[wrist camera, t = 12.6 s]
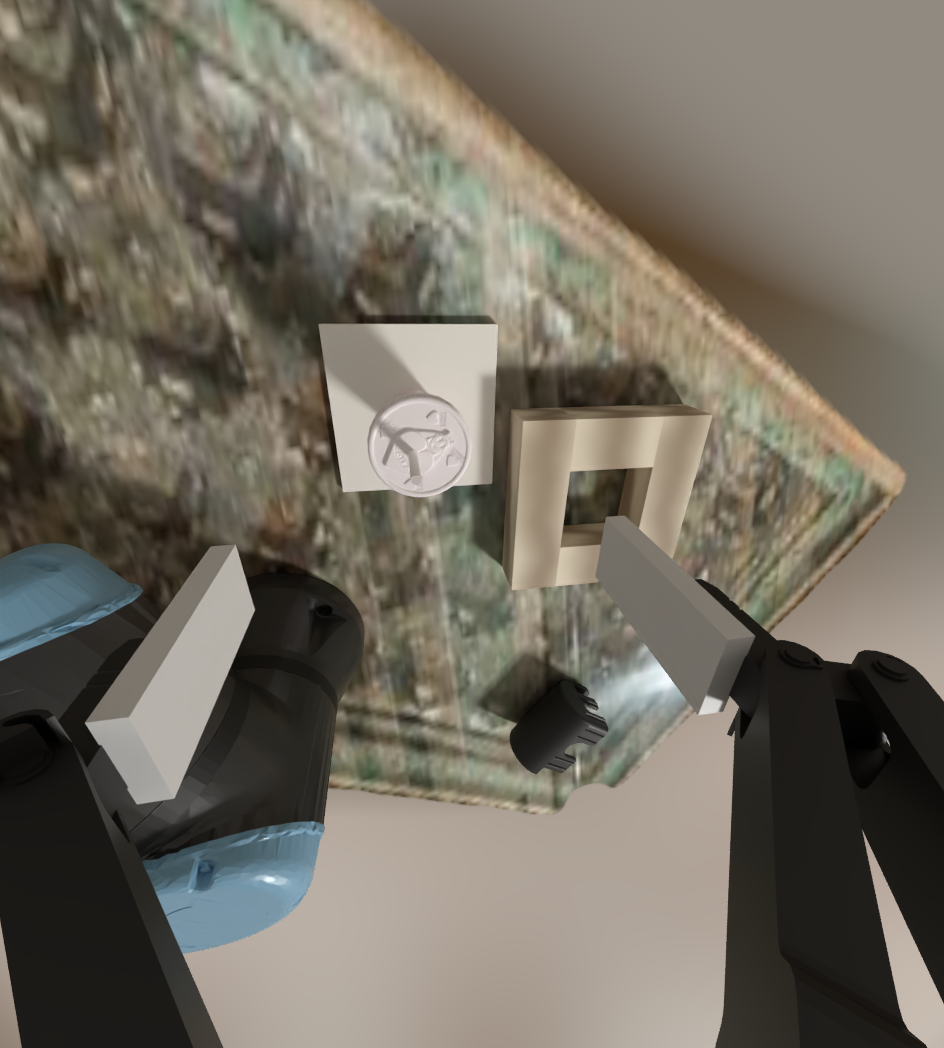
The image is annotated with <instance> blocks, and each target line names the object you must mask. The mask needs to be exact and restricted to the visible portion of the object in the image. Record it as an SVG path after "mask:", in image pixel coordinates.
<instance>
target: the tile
mask: <svg viewBox="0 0 944 1048" xmlns="http://www.w3.org/2000/svg"><path fill="white" fill-rule="evenodd" d="M318 325H319V331H320V338H321V345H322V352H323V359H324V365H325V372H326V379H327V386H328V393H329V399H330V406H331V413H332V420H333V427H334V434H335V440H336V447H337V454H338V461H339V468H340V474H341V481H342V488H343V492H353V491H371V490H389V489H391V488H389V487H388V486H387V485H385V484H384V483H383V482H382V481H381V480H380V479H379V477H378V476H377V475H376V473H375V472H374V470H373V468H372V466H371V463H370V460H369V456H368V443H367V439H368V433H369V428H370V425H371V423H372V421H373V419H374V417H375V415H376V414H377V413H378V412H379V411H380V410H381V409H382V408H383V406H384V405H385V404H387V403H388V402H390V401H392V400H393V399H394V398H395V397H396V396H397V395H398V394H399V393H401V392H402V391H405V390H408V389H418V390H421V391H423V392H425V393H428V394H431V395H435V396H439V397H441V398H443V399H444V400H446V401H448V402H449V403H451V404H452V405H453V406H454V407H455V408H456V409H457V410H458V411H459V412H460V413H461V414H462V416H463V418H464V420H465V421H466V423H467V425H468V429H469V432H470V436H471V442H472V453H471V458H470V462H469V465H468V467H467V469H466V471H465V473H464V474H463V476H462V477H461V478H460V479H459V480H458V482H457V483H455V484H454V485H453V486H462V485H480V484H492V473H493V445H494V417H495V389H496V361H497V333H498V324H318Z"/></svg>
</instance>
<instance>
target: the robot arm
mask: <svg viewBox="0 0 944 1048" xmlns="http://www.w3.org/2000/svg"><path fill="white" fill-rule="evenodd" d="M595 577H596V578H597V580H598V581H599V582H600V584H601V585H602V586H603V588H604V589H605V590H606V592H607V593H608V594H609V596H610V597H611V599H612V600H613V601H614V603H615V604H616V605H617V607H618V608H619V609H620V611H621V612H622V613H623V615H624V616H625V617H626V619H627V620H628V621H629V623H630V624H631V625H632V627H633V628H634V630H635V631H636V632H637V634H638V635H639V636H640V638H641V639H642V640H643V642H644V643H645V644H646V646H647V647H648V648H649V650H650V651H651V652H652V654H653V655H654V657H655V658H656V659H657V661H658V662H659V663H660V665H661V666H662V667H663V669H664V670H665V671H666V673H667V674H668V675H669V677H670V678H671V679H672V681H673V682H674V684H675V685H676V686H677V688H678V689H679V690H680V692H681V693H682V694H683V696H684V697H685V698H686V700H687V701H688V702H689V704H690V705H691V706H692V708H693V709H694V711H695V712H696V713H697V715H703V714H710V713H716V712H722V711H723V710H724V708H725V705H726V703H727V701H728V699H729V696H731V698H732V699H733V700H734V701H735V702H736V703H737V705H738V706H739V709H738V711H737V713H736V715H735V718H734V720H733V722H732V724H731V726H730V729H729V731H728V735H730V736H732V735H733V732H734V731H735V741H734V766H733V767H734V768H733V791H732V793H733V794H732V817H731V841H730V866H729V892H728V918H727V942H726V968H725V992H724V993H725V994H724V1010H723V1018H722V1024H721V1027H720V1031H719V1035H718V1039H717V1042H716V1047H715V1048H927V1046H926V1045H925V1044H924V1043H923V1042H922V1041H920V1040H919V1039H918V1038H917V1037H915V1035H913V1034H912V1033H911V1032H910V1031H909V1030H908V1029H907V1027H906V1025H905V1023H904V1022H903V1019H902V1016H901V1012H900V1009H899V1005H898V1000H897V995H896V990H895V985H894V981H893V976H892V971H891V966H890V962H889V957H888V952H887V947H886V942H885V938H884V933H883V928H882V923H881V919H880V913H879V909H878V904H877V899H876V894H875V890H874V885H873V880H872V875H871V871H870V866H869V861H868V856H867V852H866V846H865V842H864V837H863V832H864V834H865V836H866V838H867V840H868V842H869V845H870V847H871V849H872V851H873V853H874V855H875V857H876V860H877V862H878V864H879V866H880V868H881V870H882V872H883V875H884V877H885V879H886V881H887V883H888V885H889V887H890V889H891V892H892V894H893V896H894V898H895V900H896V902H897V904H898V907H899V909H900V911H901V913H902V915H903V917H904V920H905V922H906V924H907V926H908V928H909V930H910V932H911V935H912V937H913V939H914V941H915V943H916V945H917V947H918V949H919V952H920V954H921V956H922V958H923V960H924V962H925V964H926V967H927V969H928V971H929V973H930V975H931V977H932V979H933V981H934V984H935V986H936V988H937V990H938V992H939V994H940V996H941V999H942V1001H943V1003H944V701H943V700H942V699H941V698H940V696H939V695H938V694H937V693H936V692H935V690H934V689H933V688H932V687H931V685H930V684H929V683H928V682H927V680H926V679H925V678H924V677H923V676H922V675H921V674H920V673H919V672H918V671H917V670H916V669H915V668H914V667H912V666H910V665H909V664H907V663H906V662H904V661H903V660H901V659H899V658H897V657H894V656H892V655H889V654H885V653H882V652H878V651H870V650H864V651H861V652H859V653H858V654H857V656H856V657H855V659H854V661H853V662H852V664H845V663H838V662H830V661H824V660H823V659H822V658H821V657H820V656H819V655H818V654H816V653H815V652H813V651H812V650H810V649H808V648H807V647H805V646H802V645H800V644H797V643H795V642H790V641H785V640H776V639H775V638H774V637H772V636H771V635H770V634H769V633H768V632H767V631H766V630H765V629H763V628H762V627H761V626H760V625H759V624H758V623H757V622H756V621H754V620H753V619H752V618H751V617H750V616H749V615H748V614H746V613H745V612H744V611H743V610H740V609H739V606H737V605H736V604H735V603H734V602H733V601H730V600H729V598H728V597H727V596H726V595H725V594H724V593H723V592H722V591H720V590H719V589H718V588H717V587H715V586H713V585H711V584H709V583H708V582H706V581H704V580H702V579H696V580H694V579H693V578H692V577H691V576H690V575H689V574H688V573H686V572H685V571H684V570H683V569H682V568H681V567H680V566H679V565H678V564H677V563H676V562H675V561H673V560H672V559H671V558H670V557H669V556H668V555H667V554H666V553H665V552H664V551H663V550H662V549H660V548H659V547H658V546H657V545H656V544H655V543H654V542H653V541H652V540H651V539H650V538H649V537H647V536H646V535H645V534H644V533H643V532H642V531H641V530H640V529H639V528H638V527H637V526H636V525H634V524H633V523H632V522H631V521H630V520H629V519H628V518H627V517H626V516H611V517H606V520H605V525H604V531H603V536H602V542H601V548H600V553H599V559H598V564H597V570H596V576H595ZM142 592H143V589H142V588H141V587H140V586H139V585H137V584H134V583H128V582H127V581H126V580H124V579H123V578H122V577H120V576H119V575H118V574H116V573H115V572H113V571H112V570H111V569H109V568H108V567H107V566H105V565H104V564H102V563H101V562H100V561H98V560H97V559H96V558H94V557H93V556H92V555H90V554H89V553H87V552H86V551H84V550H82V549H80V548H78V547H75V546H72V545H67V544H59V543H46V544H38V545H34V546H30V547H27V548H24V549H21V550H19V551H16V552H14V553H11V554H9V555H7V556H4V557H2V558H0V921H1V927H2V933H3V939H4V945H5V951H6V956H7V963H8V969H9V974H10V980H11V986H12V992H13V998H14V1004H15V1010H16V1015H17V1021H18V1028H19V1034H20V1039H21V1045H22V1048H223V1046H222V1044H221V1041H220V1039H219V1037H218V1034H217V1032H216V1030H215V1028H214V1025H213V1023H212V1021H211V1018H210V1016H209V1014H208V1012H207V1009H206V1007H205V1005H204V1002H203V1000H202V998H201V995H200V993H199V991H198V988H197V986H196V984H195V982H194V979H193V977H192V975H191V972H190V970H189V968H188V966H187V963H186V961H185V959H184V956H183V953H190V952H195V951H200V950H205V949H209V948H213V947H217V946H221V945H225V944H228V943H231V942H235V941H238V940H240V939H243V938H246V937H249V936H251V935H253V934H256V933H258V932H260V931H262V930H264V929H266V928H268V927H270V926H272V925H274V924H276V923H277V922H279V921H280V920H282V919H283V918H284V917H286V916H287V915H288V914H289V913H290V912H292V911H293V910H294V909H295V908H296V907H297V906H298V905H299V903H300V902H301V900H302V899H303V898H304V896H305V895H306V893H307V891H308V888H309V886H310V884H311V881H312V878H313V874H314V869H315V863H316V858H317V852H318V847H319V842H320V839H321V838H322V836H323V834H324V816H325V807H326V799H327V790H328V782H329V774H330V765H331V757H332V748H333V740H334V731H335V723H336V714H337V707H338V703H339V701H340V699H341V698H342V696H343V694H344V692H345V690H346V688H347V687H348V685H349V683H350V681H351V679H352V677H353V676H354V674H355V672H356V670H357V668H358V666H359V664H360V661H361V658H362V654H363V646H364V624H363V621H362V618H361V615H360V613H359V611H358V610H357V608H356V607H355V605H354V604H353V603H352V602H351V600H350V599H349V598H348V597H347V596H345V595H344V594H343V593H342V592H340V591H339V590H338V589H336V588H334V587H333V586H331V585H329V584H327V583H325V582H323V581H320V580H317V579H315V578H311V577H308V576H303V575H298V574H289V573H271V574H263V575H258V576H254V577H250V578H247V579H246V578H245V575H244V571H243V568H242V564H241V561H240V558H239V554H238V551H237V548H236V545H223V546H211V547H210V548H209V549H208V551H207V552H206V554H205V555H204V556H203V558H202V559H201V561H200V562H199V563H198V565H197V566H196V568H195V569H194V570H193V572H192V573H191V575H190V576H189V577H188V579H187V580H186V582H185V583H184V584H183V586H182V587H181V589H180V590H179V592H178V593H177V594H176V596H175V597H174V599H173V600H172V601H171V603H170V604H169V606H168V607H167V608H166V610H165V611H164V612H163V611H162V610H160V609H159V608H158V607H157V606H155V605H154V604H153V603H152V602H151V601H149V600H148V599H147V598H146V597H144V596H143V595H142ZM887 740H889V743H890V746H889V744H888V743H887ZM862 830H863V832H862Z"/></svg>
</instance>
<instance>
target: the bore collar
mask: <svg viewBox="0 0 944 1048" xmlns="http://www.w3.org/2000/svg"><path fill="white" fill-rule="evenodd" d="M712 416H713V415H711V414H709V413H706V412H703V411H701V410H698V409H696V408H693V407H690V406H688V405H685V404H666V405H631V406H596V407H561V408H526V409H511V411H510V430H509V448H508V467H507V486H506V505H505V523H504V542H503V561H502V567H503V570H504V572H505V575H506V577H507V580H508V582H509V585H510V587H511V590H519V589H530V588H541V587H551V586H562V585H573V584H583V583H594V582H599V581H598V580H597V578H596V577H595V576H596V570H597V564H598V559H599V553H600V548H601V542H602V536H603V531H604V525H605V523H593V524H579V525H565V526H563V523H564V515H565V508H566V500H567V492H568V484H569V477H570V471H587V470H606V469H626V468H627V470H626V475H625V480H624V485H623V491H622V496H621V501H620V506H619V511H618V516H626V517H627V518H628V519H629V520H630V521H631V522H632V523H633V524H634V525H636V526H637V527H638V528H639V529H640V530H641V531H642V532H643V533H644V534H645V535H646V536H647V537H649V538H650V539H651V540H652V541H653V542H654V543H655V544H656V545H657V546H658V547H659V548H660V549H662V550H663V551H664V552H665V553H666V554H667V555H668V556H669V557H670V558H671V559H672V558H673V555H674V551H675V548H676V544H677V540H678V537H679V533H680V530H681V526H682V523H683V519H684V515H685V512H686V508H687V505H688V501H689V498H690V494H691V491H692V487H693V483H694V480H695V476H696V473H697V469H698V466H699V462H700V458H701V455H702V451H703V448H704V444H705V441H706V437H707V433H708V430H709V426H710V423H711V419H712Z"/></svg>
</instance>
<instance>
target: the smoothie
mask: <svg viewBox="0 0 944 1048" xmlns="http://www.w3.org/2000/svg"><path fill="white" fill-rule="evenodd" d="M367 443H368V456H369V460H370V463H371V466H372V468H373V470H374V472H375V473H376V475H377V476H378V477H379V479H380V480H381V481H382V482H383V483H384V484H385V485H387V486H388V487H389V488H391V489H392V490H394V491H396V492H398V493H401V494H404V495H407V496H412V497H428V496H433V495H436V494H439V493H442V492H444V491H446V490H447V489H449V488H450V487H452V486H453V485H454V484H455V483H457V482H458V480H459V479H460V478H461V477H462V476H463V474H464V473H465V471H466V469H467V467H468V465H469V462H470V458H471V453H472V442H471V436H470V432H469V429H468V425H467V423H466V421H465V420H464V418H463V416H462V414H461V413H460V412H459V411H458V410H457V409H456V408H455V407H454V406H453V405H452V404H451V403H449V402H448V401H446V400H444V399H443V398H441V397H439V396H435V395H431V394H428V393H425V392H423V391H421V390H418V389H408V390H405V391H402V392H401V393H399V394H398V395H397V396H396V397H395V398H394V399H393V400H392V401H390V402H388V403H387V404H385V405H384V406H383V408H382V409H381V410H380V411H379V412H378V413H377V414H376V415H375V417H374V419H373V421H372V423H371V425H370V428H369V433H368V439H367Z"/></svg>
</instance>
